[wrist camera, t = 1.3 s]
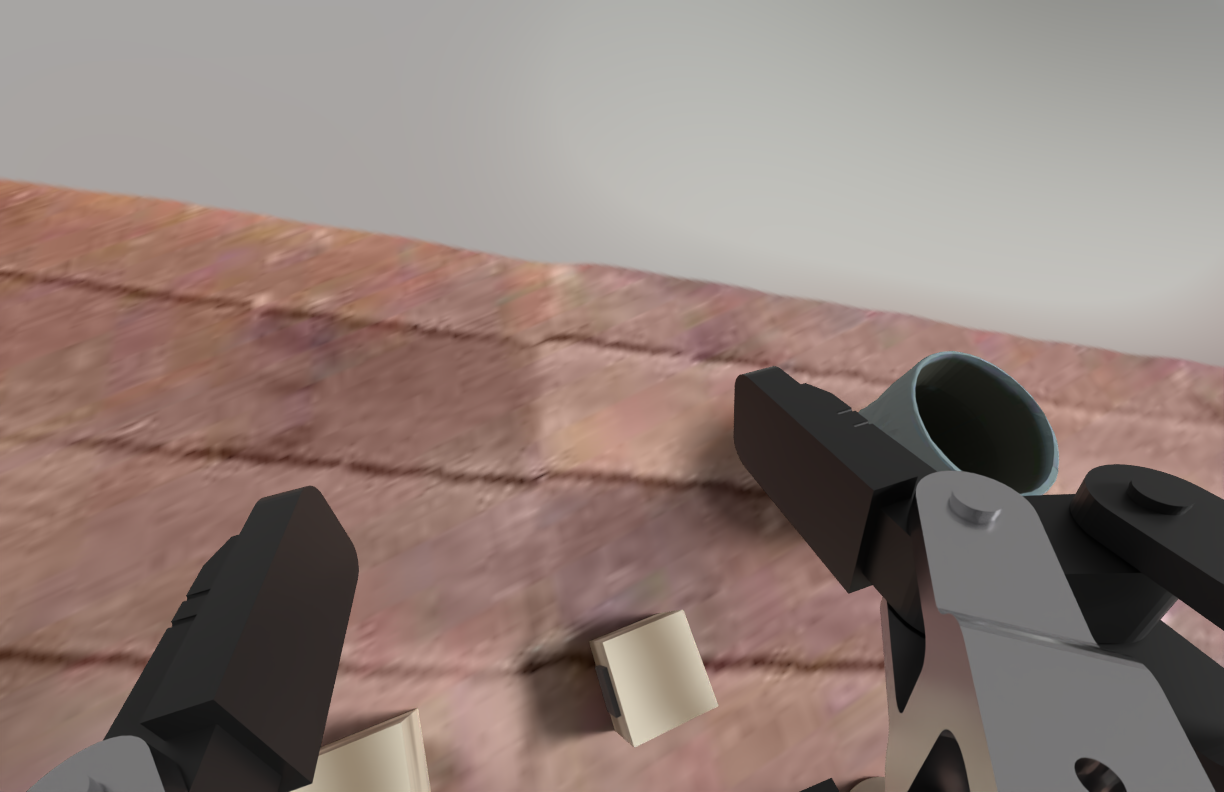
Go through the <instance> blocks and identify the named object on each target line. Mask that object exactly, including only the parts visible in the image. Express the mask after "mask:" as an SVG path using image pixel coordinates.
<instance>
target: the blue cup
mask: <svg viewBox="0 0 1224 792" xmlns="http://www.w3.org/2000/svg"><path fill="white" fill-rule="evenodd" d="M859 414H860V415H862V416H863V417H864V418H866V419H867V420H868V423H869V424H874V425H875V426H877V427H878V428H879V429H881V430H882V431H883V432H885V433H886V434H887V435H889V436H890V437H891V438H893V439H894V440H895V441H897V442H898V443H899V444H901V445H902V446H904V447H905V448H906V449H908V450H909V451H910V452H912V453H913V454H914V455H916V456H917V457H918V458H920V459H921V460H922V461H924V462H925V463H926V464H928V465H929V466H931V467H932V468H933V469H935V470H936V471H937V472H940V471H964V472H970V473H975V474H978V475H982V476H985V477H988V478H991V479H994V480H996V481H998V482H1000V483H1003V484H1005V485H1006V486H1008V487H1010V488H1012V489H1013V490H1015V491H1016V492H1018V493H1019V494H1020V495H1022V496H1030V495H1043V494H1044V493H1046V492H1047V491H1048V490H1049V489H1050V487H1051V486H1052V485H1053V484H1054V482H1055V481H1056V477H1057V474H1058V464H1059V451H1058V444H1057V440H1056V437H1055V434H1054V431H1053V429H1052V428H1051V426H1050V424H1049V422H1048V420H1047V418H1046V416H1045V414H1044V412H1043V411H1042V410H1041V408H1040V407H1039V405H1038V404H1037V403H1036V401H1035V400H1034V399H1033V397H1032V396H1031V395H1030V394H1029V393H1028V392H1027V391H1026V390H1025V389H1024V388H1023V387H1022V386H1021V385H1020V384H1019V383H1018V382H1017V381H1016V380H1014V379H1013V378H1012V377H1011V376H1009V375H1008V374H1007V373H1005V372H1004V371H1003V370H1001V369H1000V368H998V367H997V366H995V365H993V364H992V363H989V362H987V361H985V360H983V359H981V358H979V357H976V356H973V355H970V354H966V353H961V352H955V351H947V352H939V353H936V354H932V355H930V356H928V357H926V358H924V359H922V360H921V361H920V362H918V363H917V364H916V365H915V366H914V367H913V368H912V369H910V370H909V371H908V372H907V373H906V374H904V375H903V376H902V377H901V378H899V379H898V380H897V381H896V382H894V383H893V384H892V385H891V386H890V387H889V388H888V389H887V390H886V391H885V392H884V393H883V394H882V395H881V396H880V397H879V398H878V399H877V400H875V401H874V402H872V403H871V404H869V405H868V406H867V407H866V408H864V409H861V410H860V411H859Z"/></svg>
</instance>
